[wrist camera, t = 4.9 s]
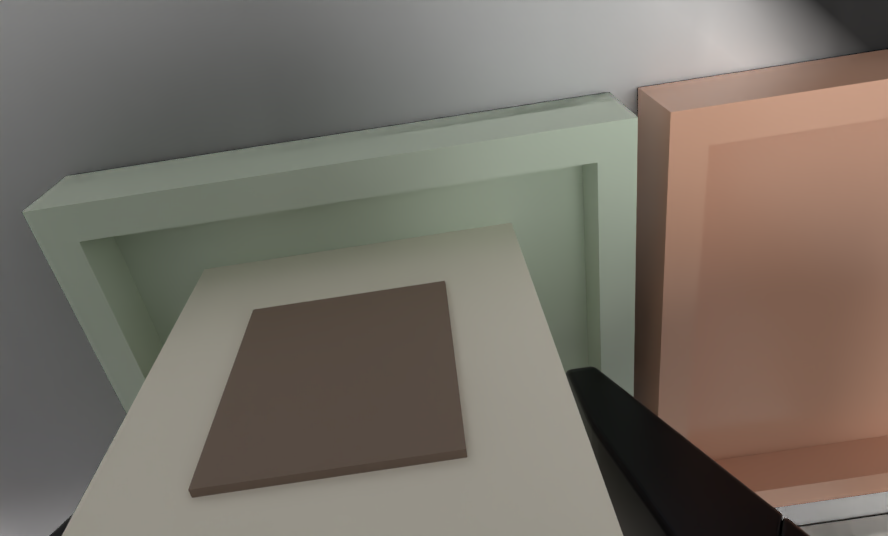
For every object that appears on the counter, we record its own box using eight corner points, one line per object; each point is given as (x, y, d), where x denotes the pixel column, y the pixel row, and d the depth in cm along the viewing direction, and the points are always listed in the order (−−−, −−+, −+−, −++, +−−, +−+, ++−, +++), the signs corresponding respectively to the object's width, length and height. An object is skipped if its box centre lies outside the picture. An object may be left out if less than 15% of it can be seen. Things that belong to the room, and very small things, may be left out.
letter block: (510, 216, 9) (639, 569, 4) (532, 446, 11) (631, 847, 7) (202, 263, 9) (-19, 664, 4) (285, 482, 11) (202, 907, 7)
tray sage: (609, 91, 9) (637, 117, 8) (611, 476, 12) (631, 528, 11) (65, 175, 9) (21, 212, 8) (231, 532, 13) (216, 588, 12)
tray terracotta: (1195, 1, 9) (1306, 14, 8) (1019, 416, 12) (1075, 463, 11) (638, 87, 9) (670, 112, 8) (632, 473, 12) (653, 525, 11)
